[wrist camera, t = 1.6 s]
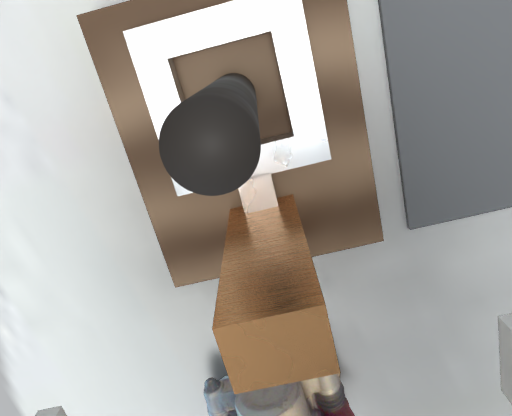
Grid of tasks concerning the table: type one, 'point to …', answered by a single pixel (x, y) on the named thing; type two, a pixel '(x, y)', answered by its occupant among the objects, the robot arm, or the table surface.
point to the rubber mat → (451, 105)
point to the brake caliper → (279, 399)
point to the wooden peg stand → (237, 134)
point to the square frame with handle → (256, 197)
